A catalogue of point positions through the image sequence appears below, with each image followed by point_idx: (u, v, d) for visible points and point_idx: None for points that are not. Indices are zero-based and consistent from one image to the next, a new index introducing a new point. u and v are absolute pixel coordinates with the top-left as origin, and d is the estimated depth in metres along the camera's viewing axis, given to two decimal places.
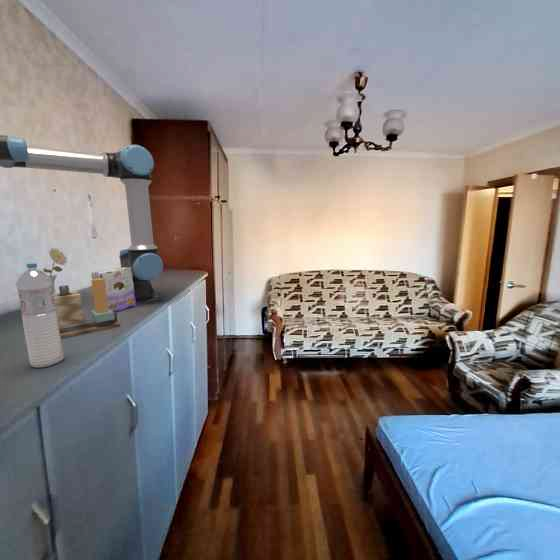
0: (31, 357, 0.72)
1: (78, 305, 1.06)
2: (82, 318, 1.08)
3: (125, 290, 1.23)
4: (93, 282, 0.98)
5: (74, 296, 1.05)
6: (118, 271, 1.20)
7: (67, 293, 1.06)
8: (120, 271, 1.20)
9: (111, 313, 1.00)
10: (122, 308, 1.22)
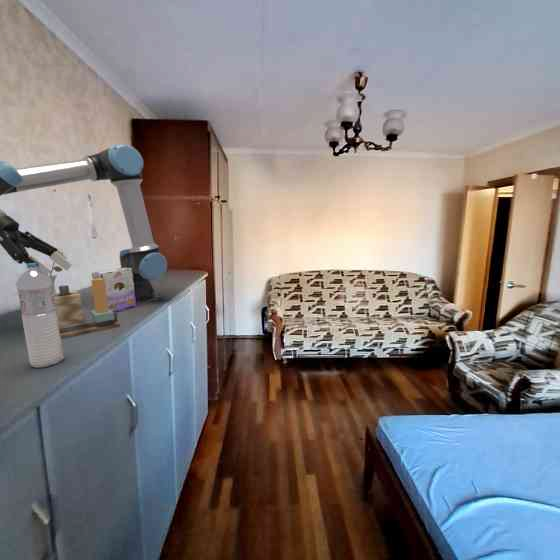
0: (31, 357, 0.72)
1: (78, 305, 1.06)
2: (82, 318, 1.08)
3: (125, 291, 1.23)
4: (93, 282, 0.98)
5: (74, 296, 1.05)
6: (119, 271, 1.20)
7: (67, 293, 1.06)
8: (121, 271, 1.21)
9: (111, 313, 1.00)
10: (122, 308, 1.22)
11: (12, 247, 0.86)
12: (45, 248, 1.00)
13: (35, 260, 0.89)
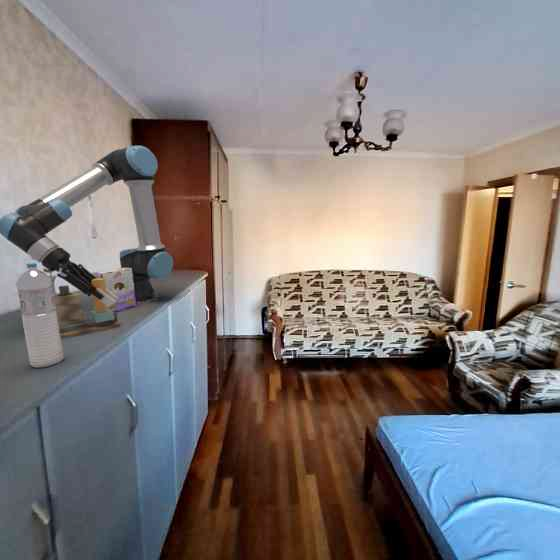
0: (31, 357, 0.72)
1: (78, 305, 1.06)
2: (82, 318, 1.08)
3: (125, 291, 1.23)
4: (93, 282, 0.98)
5: (74, 296, 1.05)
6: (118, 271, 1.20)
7: (67, 293, 1.06)
8: (120, 271, 1.20)
9: (111, 313, 1.00)
10: (122, 308, 1.22)
11: (80, 283, 0.94)
12: None
13: (101, 292, 0.99)
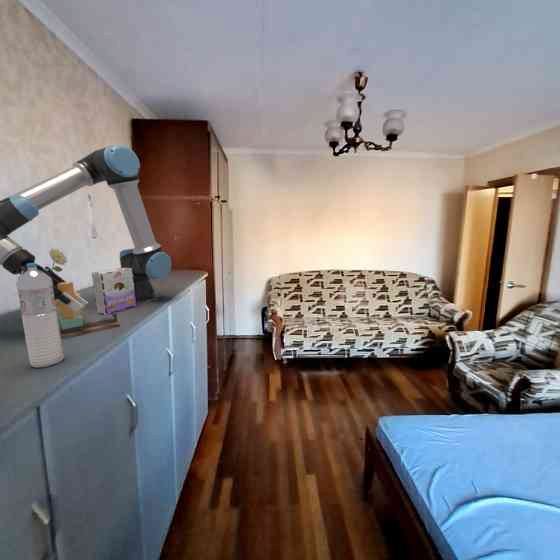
0: (31, 357, 0.72)
1: None
2: (82, 318, 1.08)
3: (125, 291, 1.23)
4: (59, 286, 0.92)
5: None
6: (119, 271, 1.20)
7: None
8: (121, 271, 1.20)
9: (79, 319, 0.95)
10: (122, 308, 1.22)
11: None
12: None
13: (68, 297, 0.93)
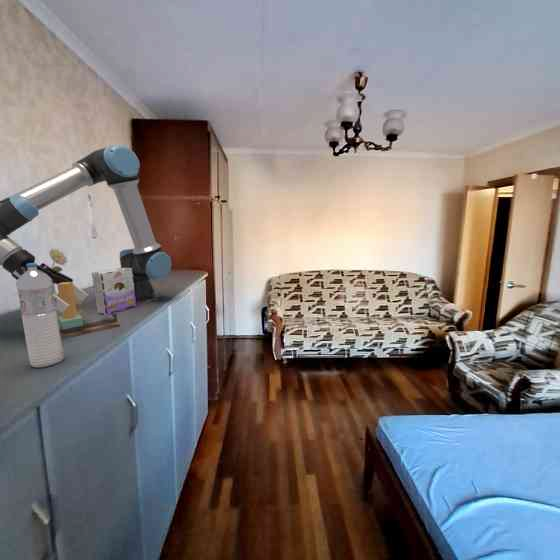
0: (31, 357, 0.72)
1: (78, 305, 1.06)
2: (82, 318, 1.08)
3: (125, 291, 1.23)
4: (59, 286, 0.92)
5: None
6: (119, 271, 1.20)
7: None
8: (121, 271, 1.20)
9: (79, 319, 0.95)
10: (122, 308, 1.22)
11: None
12: (61, 280, 0.98)
13: None
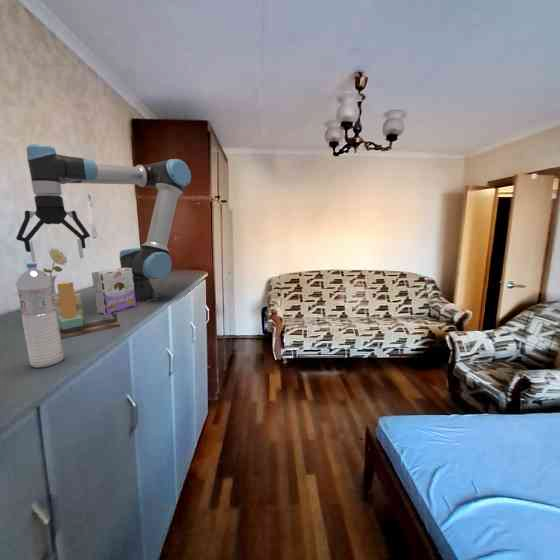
0: (31, 357, 0.72)
1: (78, 305, 1.06)
2: (82, 318, 1.08)
3: (125, 291, 1.23)
4: (59, 286, 0.92)
5: None
6: (118, 271, 1.20)
7: None
8: (120, 271, 1.20)
9: (79, 319, 0.95)
10: (122, 308, 1.22)
11: (20, 229, 0.96)
12: (74, 233, 1.06)
13: (30, 247, 0.98)
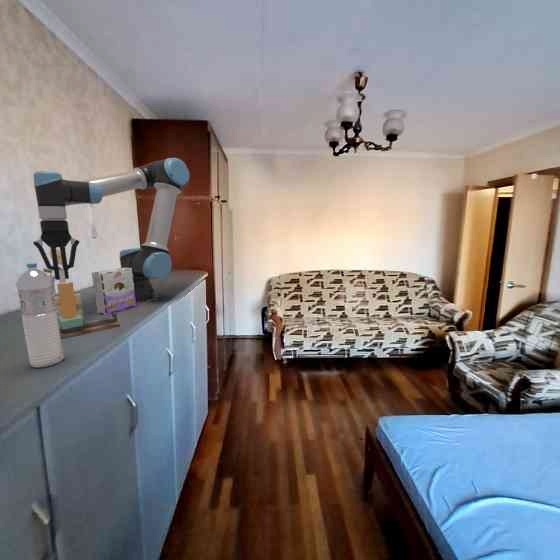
0: (31, 357, 0.72)
1: (78, 305, 1.06)
2: (82, 318, 1.08)
3: (125, 291, 1.23)
4: (59, 286, 0.92)
5: None
6: (119, 271, 1.20)
7: None
8: (121, 271, 1.20)
9: (79, 319, 0.95)
10: (122, 308, 1.22)
11: None
12: (62, 260, 1.04)
13: (59, 275, 1.04)
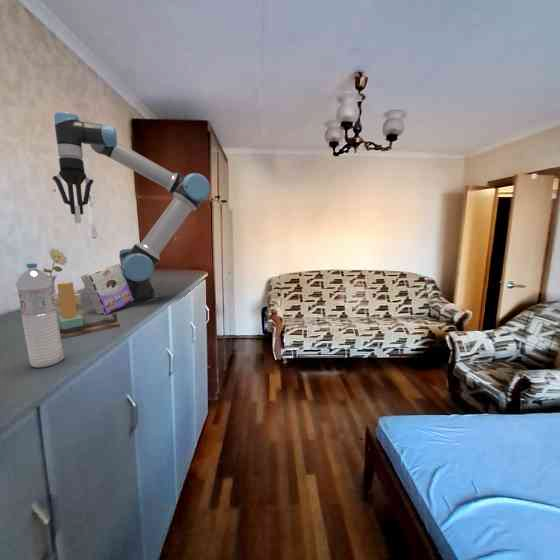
0: (31, 357, 0.72)
1: (78, 305, 1.06)
2: (82, 318, 1.08)
3: (119, 287, 1.22)
4: (59, 286, 0.92)
5: None
6: (107, 269, 1.18)
7: None
8: (109, 269, 1.19)
9: (79, 319, 0.95)
10: (120, 305, 1.22)
11: (61, 194, 1.11)
12: (77, 196, 1.15)
13: (75, 210, 1.15)
